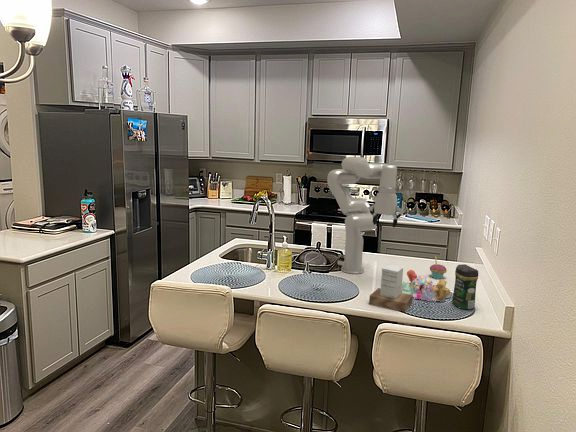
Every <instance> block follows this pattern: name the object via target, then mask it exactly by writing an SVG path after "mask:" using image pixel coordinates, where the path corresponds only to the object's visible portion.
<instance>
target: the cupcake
mask: <svg viewBox="0 0 576 432" xmlns="http://www.w3.org/2000/svg"><path fill="white" fill-rule="evenodd" d="M434 260H435V264H431V265H430V266H429V271H430V272H431V275H432V278H433V279H437V280H440V279H443V276H444V275H445V273H447V271H448V270H447V268H446V267H445V265H443V264H439V263H437V261H438V260H437V256H436V255H434Z"/></svg>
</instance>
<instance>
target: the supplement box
mask: <svg viewBox="0 0 576 432" xmlns="http://www.w3.org/2000/svg"><path fill="white" fill-rule="evenodd" d="M403 275H404V267H402V266H397V265H391V264H387V265H385V266H384V267H382V268H381V278H380V279H381V280H380V288H381V290H380V295H381V296H385V297H389V298H393V299H396V298H397V297H399V296H400V295H401V290H402V282H403V277H404V276H403Z"/></svg>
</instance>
